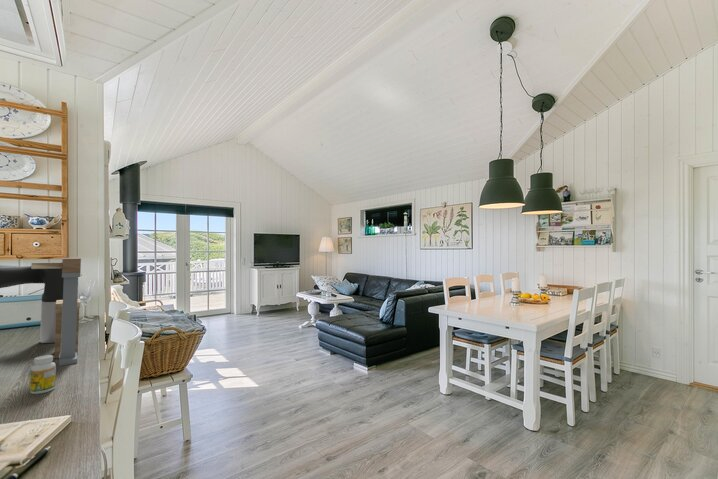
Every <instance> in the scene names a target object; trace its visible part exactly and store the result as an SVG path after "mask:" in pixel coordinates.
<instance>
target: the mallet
mask: <svg viewBox="0 0 718 479" xmlns="http://www.w3.org/2000/svg"><path fill="white" fill-rule="evenodd" d="M81 263H82V258H81V257H63V258H62V261H61V262H60V261H59V262H31V265H30V266H31V269H51V268H62V273H80V274H81V271H82V270H81V268H82V266H81Z"/></svg>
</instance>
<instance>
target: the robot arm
mask: <svg viewBox="0 0 718 479" xmlns="http://www.w3.org/2000/svg"><path fill="white" fill-rule="evenodd" d="M26 284H27V285H28V284H44V289H43V294H42V295H41V306H40V308H41V311H40V312H41V313H40V314H41V315H40V332H39V333H40V335H39V337H40V338H39V342H40V343H41V344H51V343H53V344H54V343H55V330H56V300H63V284H64V277H62V268H51V269H31V265H30V266H29V265H27V266H21V265H20V266H19V265H0V289H2V288H3V289H4V288H10V287H15V286H19V285H26ZM62 310H63V309H62ZM61 337H62V329H61Z"/></svg>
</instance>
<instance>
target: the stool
mask: <svg viewBox="0 0 718 479" xmlns="http://www.w3.org/2000/svg"><path fill="white" fill-rule="evenodd" d="M80 308H81V299H80V298H78V299H77V326H76V352H77V356H78V354H79V353H78V352H79V329H80V328H79V327H80ZM62 309H63V300H56V330H55V342H54V355H53V359H57V358H58V359H59V354H61V329H62Z"/></svg>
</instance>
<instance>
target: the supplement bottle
mask: <svg viewBox="0 0 718 479" xmlns="http://www.w3.org/2000/svg"><path fill="white" fill-rule="evenodd" d="M53 361H54V355H51V354H47V355H40V356H36V357H34V359H33V363H34V364H33V365H31V368H30V374H29V375H30V382H29V385H30V386H29V393H30V394H33V395H39V394H44V393H48V392H51V391H53V390H54V389H55V388H56V376H57V375H56V373H57V372H56V370H57V369H56V366H57V365H56V363H55V362H53Z"/></svg>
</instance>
